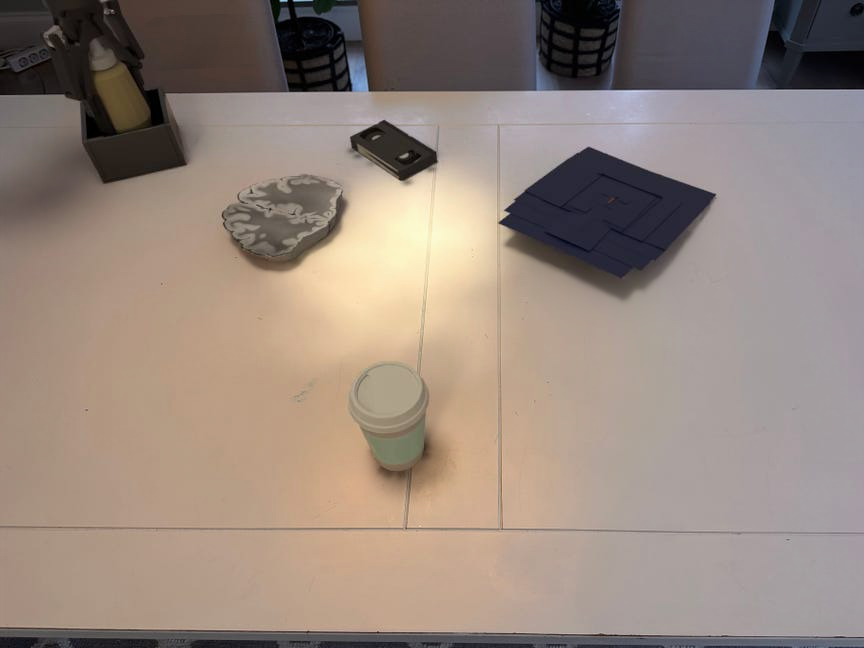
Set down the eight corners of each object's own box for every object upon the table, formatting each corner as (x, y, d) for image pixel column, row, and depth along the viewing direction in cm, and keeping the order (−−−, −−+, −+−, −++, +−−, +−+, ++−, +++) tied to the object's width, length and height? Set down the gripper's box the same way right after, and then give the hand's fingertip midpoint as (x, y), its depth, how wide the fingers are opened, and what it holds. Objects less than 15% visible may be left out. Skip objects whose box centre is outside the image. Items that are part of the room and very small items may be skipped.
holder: (103, 183, 113) (81, 142, 107) (100, 142, 121) (79, 101, 115) (186, 165, 116) (169, 124, 110) (177, 125, 124) (161, 85, 118)
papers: (485, 233, 101) (487, 213, 99) (584, 160, 119) (587, 141, 117) (630, 300, 92) (635, 279, 89) (713, 209, 110) (720, 189, 107)
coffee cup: (382, 411, 82) (368, 347, 73) (446, 432, 80) (440, 369, 71) (349, 468, 77) (329, 407, 68) (416, 492, 75) (406, 433, 66)
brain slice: (269, 180, 113) (264, 165, 111) (360, 200, 109) (358, 184, 107) (201, 254, 101) (195, 239, 99) (301, 279, 97) (296, 264, 95)
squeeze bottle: (169, 132, 117) (125, 26, 103) (130, 154, 112) (78, 47, 98) (139, 118, 120) (92, 13, 106) (100, 139, 115) (46, 33, 101)
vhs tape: (350, 147, 119) (348, 137, 117) (385, 129, 122) (384, 119, 121) (401, 181, 112) (400, 171, 111) (437, 162, 116) (436, 151, 114)
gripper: (22, 7, 89) (99, 156, 106) (130, -50, 101) (184, 93, 119) (-20, -2, 91) (63, 147, 108) (91, -56, 103) (150, 85, 121)
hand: (126, 118), depth 113 cm, fingers closed on squeeze bottle, 8 cm apart
